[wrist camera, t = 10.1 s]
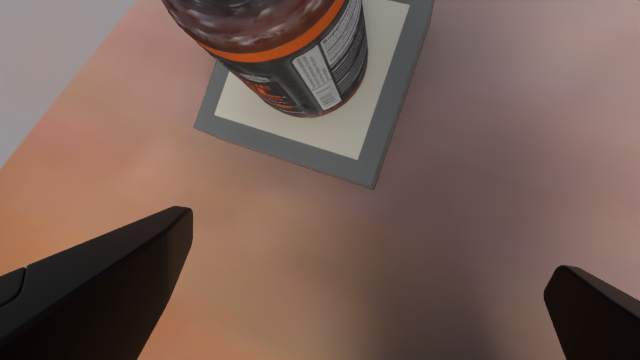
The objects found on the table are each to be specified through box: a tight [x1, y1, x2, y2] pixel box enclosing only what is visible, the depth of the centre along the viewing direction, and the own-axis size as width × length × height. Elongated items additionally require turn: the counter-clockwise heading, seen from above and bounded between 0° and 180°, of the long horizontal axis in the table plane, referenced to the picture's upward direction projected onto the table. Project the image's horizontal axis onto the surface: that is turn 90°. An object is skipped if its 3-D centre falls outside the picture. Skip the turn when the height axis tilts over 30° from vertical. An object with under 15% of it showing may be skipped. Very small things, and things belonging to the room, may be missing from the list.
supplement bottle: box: [162, 0, 368, 118], centre depth 13 cm, size 6×6×11 cm
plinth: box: [193, 0, 434, 190], centre depth 20 cm, size 10×10×3 cm
